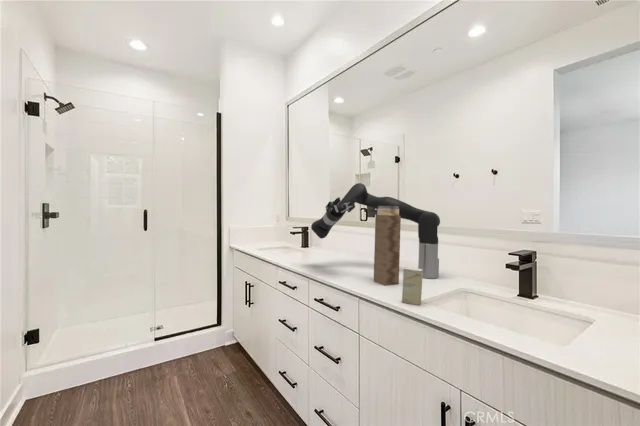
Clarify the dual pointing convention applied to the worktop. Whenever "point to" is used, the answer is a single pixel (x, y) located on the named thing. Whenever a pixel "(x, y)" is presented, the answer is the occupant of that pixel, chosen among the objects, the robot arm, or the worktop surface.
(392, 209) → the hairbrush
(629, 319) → the worktop surface
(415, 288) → the skincare box
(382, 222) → the walnut stand
